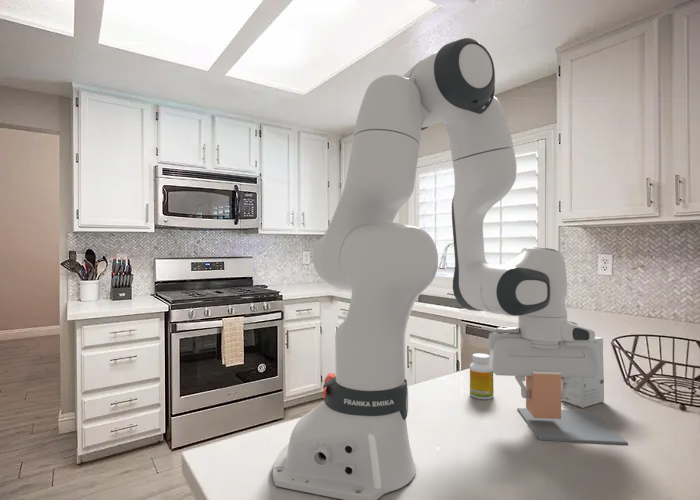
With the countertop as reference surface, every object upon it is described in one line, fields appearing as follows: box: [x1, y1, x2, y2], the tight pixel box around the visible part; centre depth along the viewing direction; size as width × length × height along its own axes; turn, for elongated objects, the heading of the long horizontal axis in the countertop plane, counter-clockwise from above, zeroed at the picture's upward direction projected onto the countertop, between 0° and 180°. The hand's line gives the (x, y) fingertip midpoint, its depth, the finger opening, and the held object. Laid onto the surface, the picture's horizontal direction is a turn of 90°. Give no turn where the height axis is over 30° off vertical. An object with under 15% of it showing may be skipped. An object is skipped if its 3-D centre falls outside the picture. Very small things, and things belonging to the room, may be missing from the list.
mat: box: [516, 407, 629, 445], centre depth 80 cm, size 15×14×1 cm
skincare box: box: [561, 336, 605, 409], centre depth 93 cm, size 8×6×15 cm
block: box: [525, 371, 562, 419], centre depth 81 cm, size 5×5×9 cm
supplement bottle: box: [469, 352, 494, 400], centre depth 97 cm, size 5×5×10 cm
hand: (543, 397), depth 81 cm, fingers closed on block, 5 cm apart
